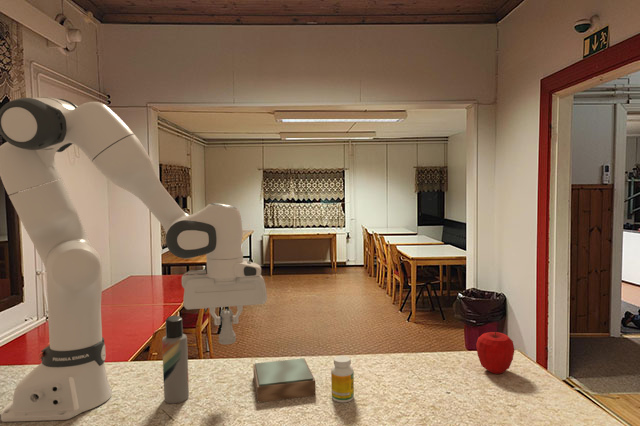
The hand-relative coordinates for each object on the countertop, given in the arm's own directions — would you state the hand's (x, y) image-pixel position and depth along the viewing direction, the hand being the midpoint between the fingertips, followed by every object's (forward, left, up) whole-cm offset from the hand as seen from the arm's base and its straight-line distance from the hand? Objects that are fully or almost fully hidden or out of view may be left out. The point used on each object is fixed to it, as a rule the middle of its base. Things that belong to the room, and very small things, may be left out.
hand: (226, 323), depth 107 cm
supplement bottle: (+27, -11, -17) cm, 34 cm away
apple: (+71, -7, -17) cm, 73 cm away
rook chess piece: (0, +1, -5) cm, 5 cm away
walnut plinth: (+14, -1, -17) cm, 22 cm away
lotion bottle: (-12, -1, -17) cm, 21 cm away
